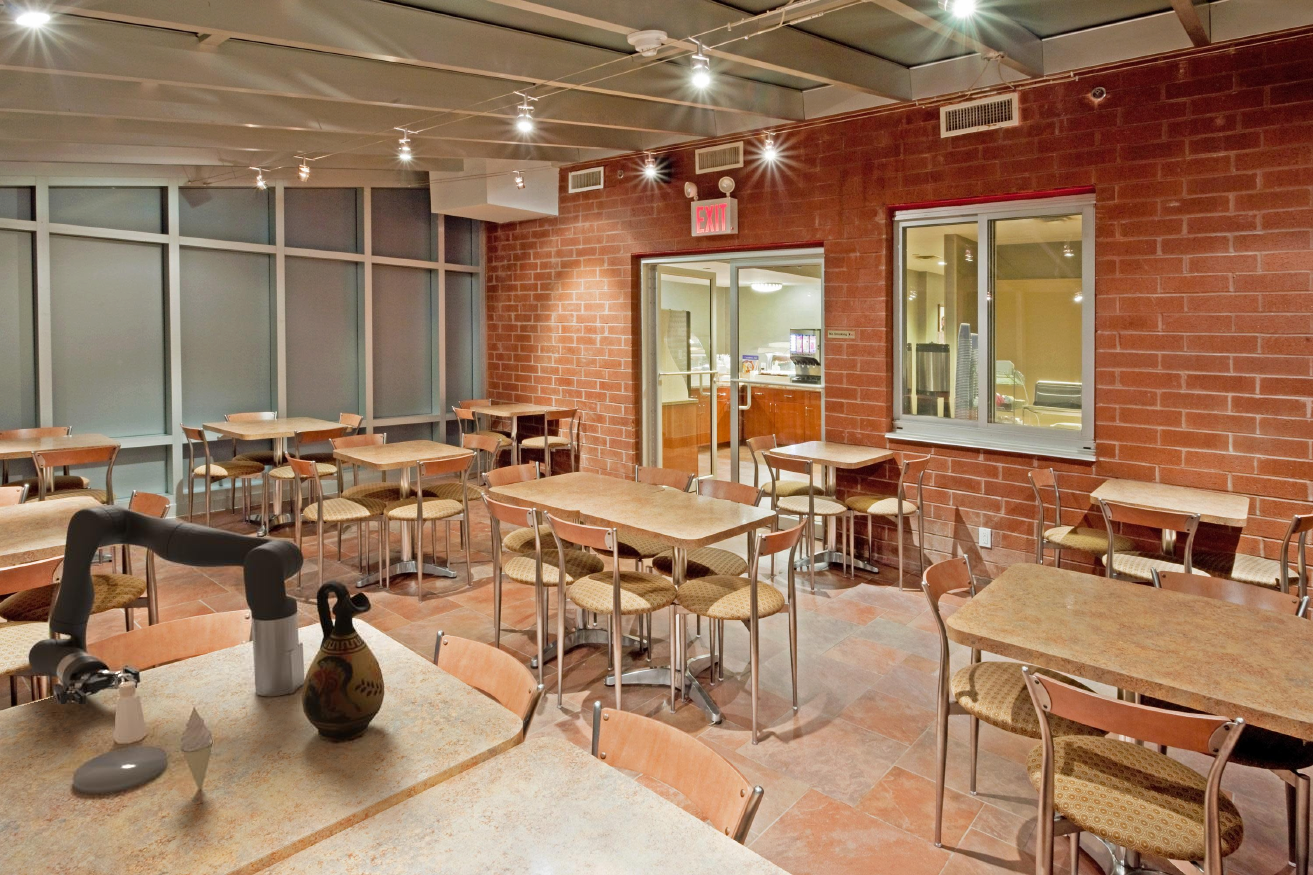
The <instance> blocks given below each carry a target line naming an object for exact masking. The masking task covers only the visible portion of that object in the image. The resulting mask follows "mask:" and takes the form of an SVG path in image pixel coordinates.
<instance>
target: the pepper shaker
mask: <svg viewBox="0 0 1313 875" xmlns="http://www.w3.org/2000/svg"><path fill="white" fill-rule="evenodd" d="M135 686H136V683H135V682H132V681H129V682H125V681H124V683H122V684H120V685H119V688H118V691H119V692H118V693H119V696H118V697H117V698H116V701H115V703H116V704H115V705H116V706H115V721H114V739H113V740H114V741H115V742H116V743H117V744H118V745H121V744H122V745H123V744H124V745H125V744H131V743H134V742H138V741H141V740H142V739H143V738H145V737H146V736H147V735H148V732H147V726H146V721H145V716H144V711H143V706H142V702H141V696H140V694H139V693H138V692H137V690H136V689H137V688H136V687H135Z"/></svg>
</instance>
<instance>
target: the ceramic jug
mask: <svg viewBox="0 0 1313 875" xmlns="http://www.w3.org/2000/svg"><path fill="white" fill-rule="evenodd" d="M346 586H347V585H345V584H343V583H342V582H339V581H336V580H330V581H328V582H326V583H323V584H322V585H321V586H320V587H319V588H318V590H317V592H316V610H317V613H318V618H319V623H320V627H321V631H322V635H323V636H322V640H321V643H320V647H319V650H318V651H317V653H316V654H315V656H314V658H313V660H312V662H311V664H310V665H309V668H308V669H307V670H308V671H307V672H306V675H305V677H304V680H305V681H304V683H303V684H302V690H301V705H302V711H303V713H304V715H305V716H306V718H307V720H308V721H309V723H310V724H312V726H313V727H314V728H316V729H317V735H318V737H319V738H320V739H321V740H324V741H326V742H329V743H333V744H338V743H339V744H340V743H343V742H348V741H349V742H351V741H354V740H357V739H359V738H362V737H363V735H364V734H366V733H367V732H368V730H369V725H370V723H371V722H372V721H373V719H374V718H375V717H376V715H377V714H378V713H379V711H380V710H381V708H382V705H383V702H384V697H385V683H384V681H385V680H384V678H383V673H382V669H381V667H380V663H379V661H378V660H377V657H376V656H375V655H374V652H372V650H371V649H370V647H369V645H368V644H367V643H366V642H365V640H364V639H363V638H362V637H361V636H360V634H359V633H358V631H357V629H356V628H355V627H354V624H353V618H354V617H357V616H358V615H362V614H365V613H368V612H370V611H371V609H372V606H371V603H370V599H369V597H368V596H367V595H366V594H365V593H364V592H362V591H360V592H358V593H356V594H354V595H353V596H352V597H351V594H350V591H349V590H348V588H347V587H346ZM330 593H334V594H335V597H336V602H335V603H334V605H333V606H332V607H331V608H330V603H329V598H330V597H329V595H330ZM332 614H333V615H334V621H333V619H332Z"/></svg>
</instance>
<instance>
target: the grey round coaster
mask: <svg viewBox="0 0 1313 875" xmlns="http://www.w3.org/2000/svg"><path fill="white" fill-rule="evenodd" d="M167 766H168V754H167V751H166V750H165V749H163V748H161V747H159V746H156V745H155V746H153V745H138V746H137V745H134V746H127V747H123V748H119V749H114V750H111V751H109V752H105V753H102V754H100V755H97V756H95V757H94V758H91V759H89V760H87V761H86V762H85V763H83V764H82V765H80V766H79V767H78V768H77V769H76V770H75V771H74V773H73V776H72V779H73V787H74V789H75V791H77V792H78V791H79V792H78V793H81V794H84V795H92V794H99V795H105V794H104V793H109V794H112V793H111V792H115V793H119V792H118V791H120V792H123V791H122V790H124V791H127V790H130V789H129V788H131V789H133V788H136V787H138V786H141V785H143V784H142V783H144V784H145V783H147V782H150V781H151V780H153V779H154V778H157V777H158V776H159V775H161V774H162V773H163V772H164V771H165V770H166V768H167ZM140 784H141V785H140ZM132 787H133V788H132ZM126 789H127V790H126ZM102 793H103V794H102Z"/></svg>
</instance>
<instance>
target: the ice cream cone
mask: <svg viewBox="0 0 1313 875" xmlns="http://www.w3.org/2000/svg"><path fill="white" fill-rule="evenodd" d="M185 725H186V727H187V728H186V729H185V730H184V731H182V732H181V733H180V734H182V735H183V736H181V737H180V738H179V741H180V742H182V743H181V744H179V747H180V749H179V750H180V752H182V754H183V757H184V759H185V761H186V764H187V765H188V769H189V771H190V773H191V775H192V778H193V780H194V782H195V784H196V787H197V789H198V790H199V791H200V790H202V789H203V785H204V781H205V777H206V773H207V770H208V765H209V762H210V757H211V754H212V748H213V745H214V743H215V740H214V739H213V730H212V729H211V728H210V726H207V725H206V724H205V720H204V719H203V717H201V716H200V714H199V712H198V711H197V709H196V707H195V706H193V708H192V711H191V714H190V716H189V718H188V720H187V722H186V724H185Z"/></svg>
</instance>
